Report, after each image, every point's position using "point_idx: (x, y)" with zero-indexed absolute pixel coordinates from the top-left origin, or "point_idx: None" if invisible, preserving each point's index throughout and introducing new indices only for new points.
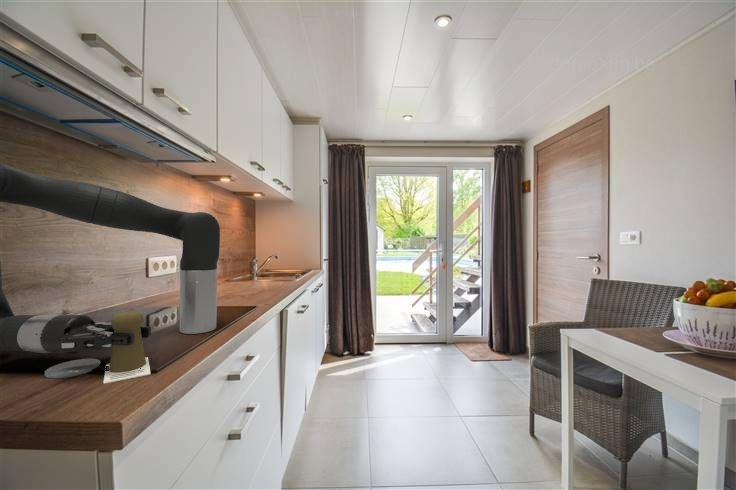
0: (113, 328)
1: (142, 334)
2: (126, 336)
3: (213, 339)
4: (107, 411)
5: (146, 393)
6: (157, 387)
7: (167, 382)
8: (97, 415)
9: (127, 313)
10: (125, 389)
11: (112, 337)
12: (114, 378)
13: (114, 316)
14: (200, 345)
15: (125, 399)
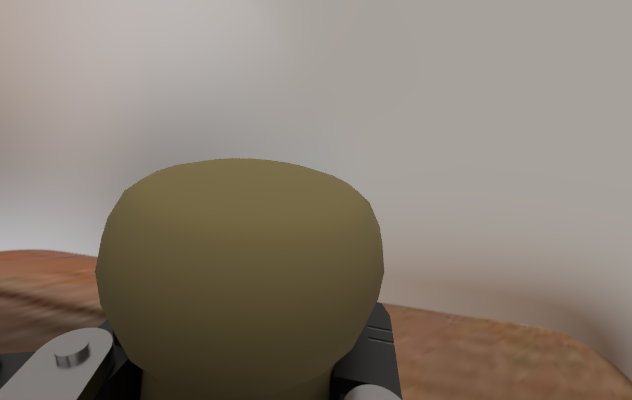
0: (334, 363)
1: None
2: None
3: (15, 279)
4: (582, 378)
5: (462, 333)
6: (425, 322)
7: (394, 311)
8: (613, 392)
9: (305, 170)
10: (469, 395)
11: (398, 387)
12: None
13: (344, 232)
14: (68, 301)
15: (513, 365)
